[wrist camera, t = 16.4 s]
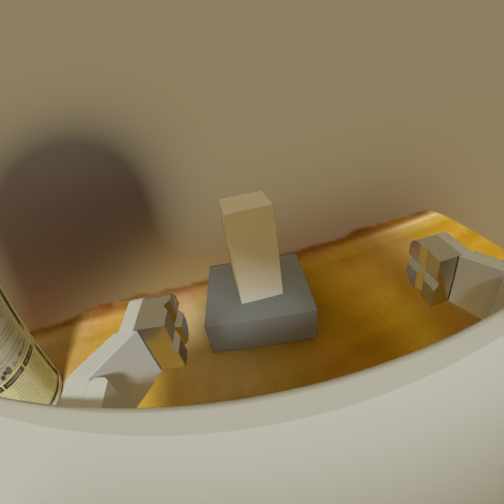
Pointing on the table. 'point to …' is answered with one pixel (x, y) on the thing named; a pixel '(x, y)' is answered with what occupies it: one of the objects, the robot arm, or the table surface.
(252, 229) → the cream block
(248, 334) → the gray square block
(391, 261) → the table surface
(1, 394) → the coffee can
